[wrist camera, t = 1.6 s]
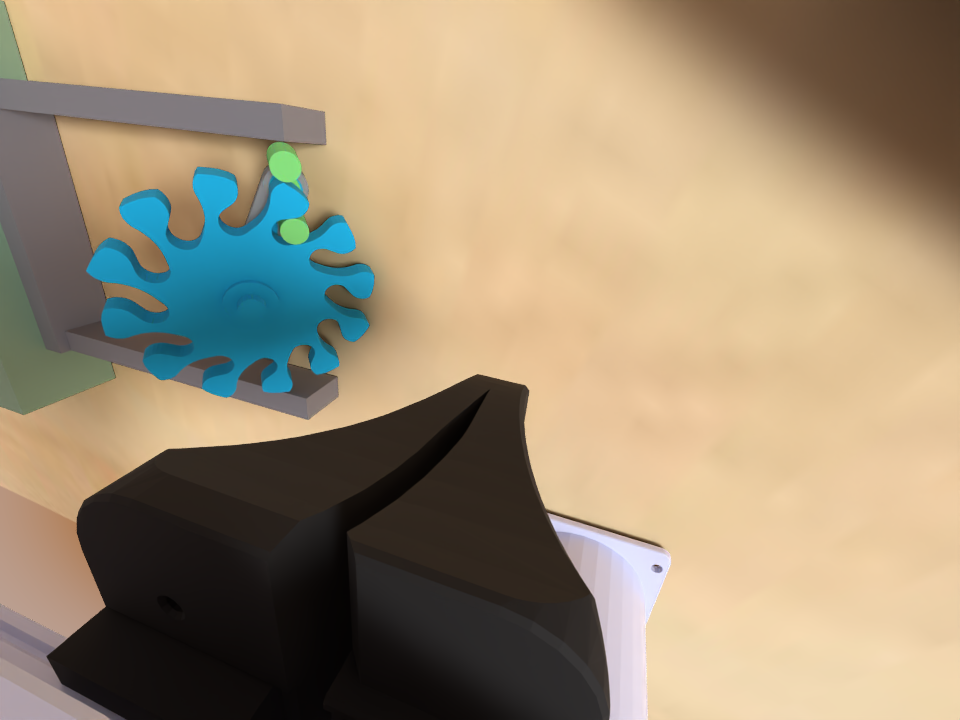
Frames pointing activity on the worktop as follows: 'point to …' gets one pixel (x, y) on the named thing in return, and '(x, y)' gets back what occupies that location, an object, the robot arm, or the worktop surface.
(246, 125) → the green block with rails
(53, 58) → the worktop surface
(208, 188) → the gear
